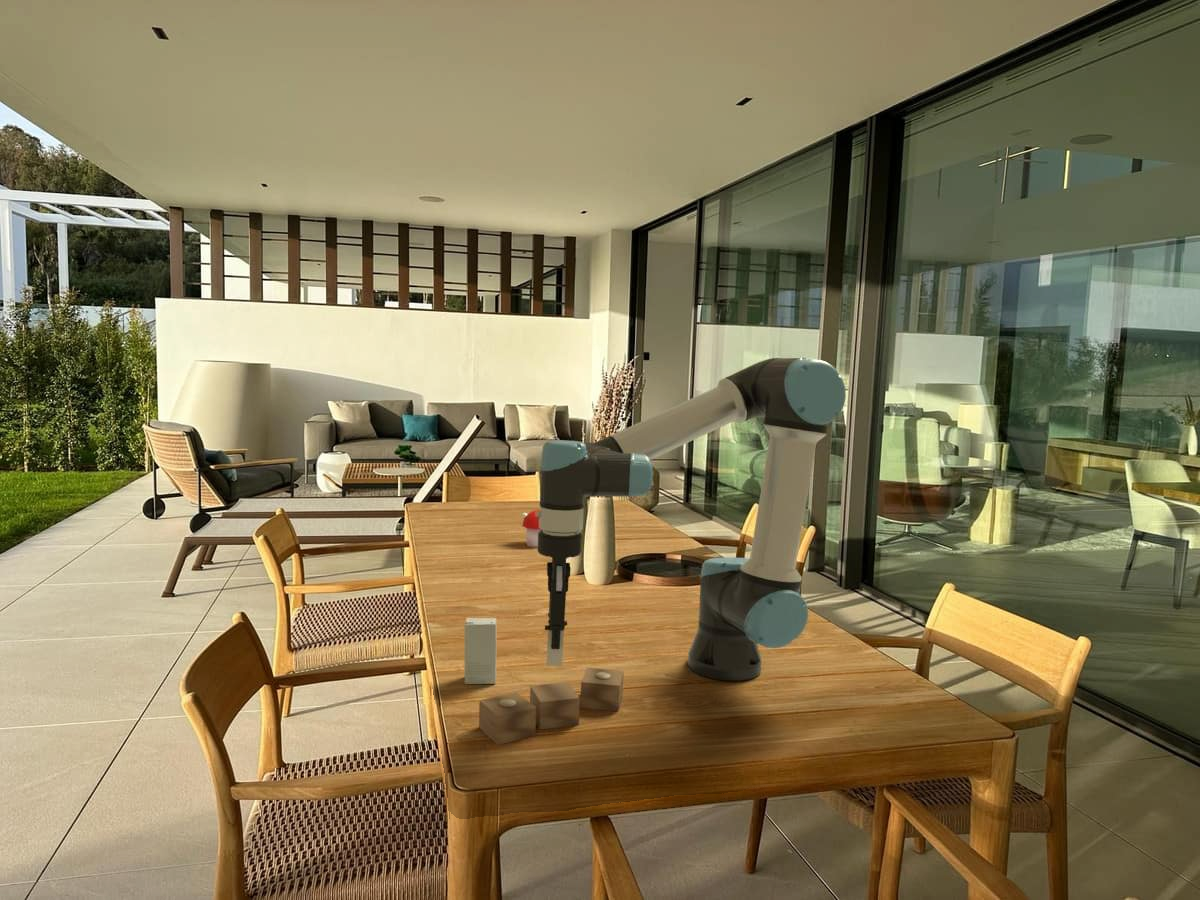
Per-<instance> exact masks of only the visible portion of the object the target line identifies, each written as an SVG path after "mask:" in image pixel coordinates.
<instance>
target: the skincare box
mask: <svg viewBox="0 0 1200 900" xmlns="http://www.w3.org/2000/svg"><path fill="white" fill-rule="evenodd" d="M497 620H498V619H497V618H496V617H466V618H465V621H464V622H465V623H464V685H493V684H494V685H495V684H496V682H497Z"/></svg>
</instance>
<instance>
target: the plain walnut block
mask: <svg viewBox="0 0 1200 900" xmlns="http://www.w3.org/2000/svg"><path fill="white" fill-rule="evenodd" d="M529 691H530V692H529V693H530V694H529V702H530V703H531V704H532V705H534V706H535V707H536V726H537V728H538V730H545V729H554V728H555V729H556V728H563V727H573V726H579V724H580V698H581V697H580V696H579V695H578V693H577V692H576V690H575V689H574V688H573V687H572V685H571V684H570V682H568V681H567V682H556V683H555V682H554V683H545V684H534V685H530V687H529Z"/></svg>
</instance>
